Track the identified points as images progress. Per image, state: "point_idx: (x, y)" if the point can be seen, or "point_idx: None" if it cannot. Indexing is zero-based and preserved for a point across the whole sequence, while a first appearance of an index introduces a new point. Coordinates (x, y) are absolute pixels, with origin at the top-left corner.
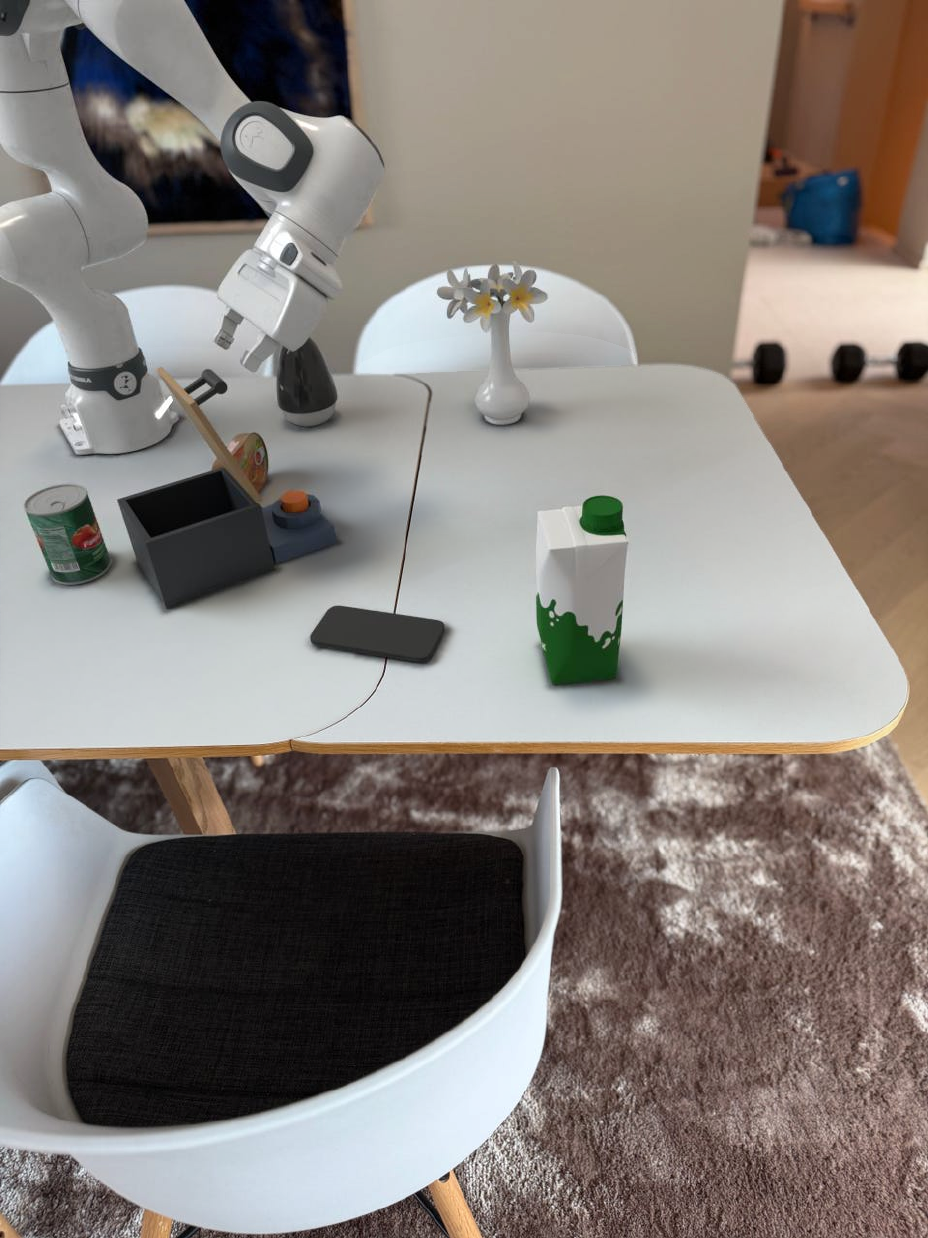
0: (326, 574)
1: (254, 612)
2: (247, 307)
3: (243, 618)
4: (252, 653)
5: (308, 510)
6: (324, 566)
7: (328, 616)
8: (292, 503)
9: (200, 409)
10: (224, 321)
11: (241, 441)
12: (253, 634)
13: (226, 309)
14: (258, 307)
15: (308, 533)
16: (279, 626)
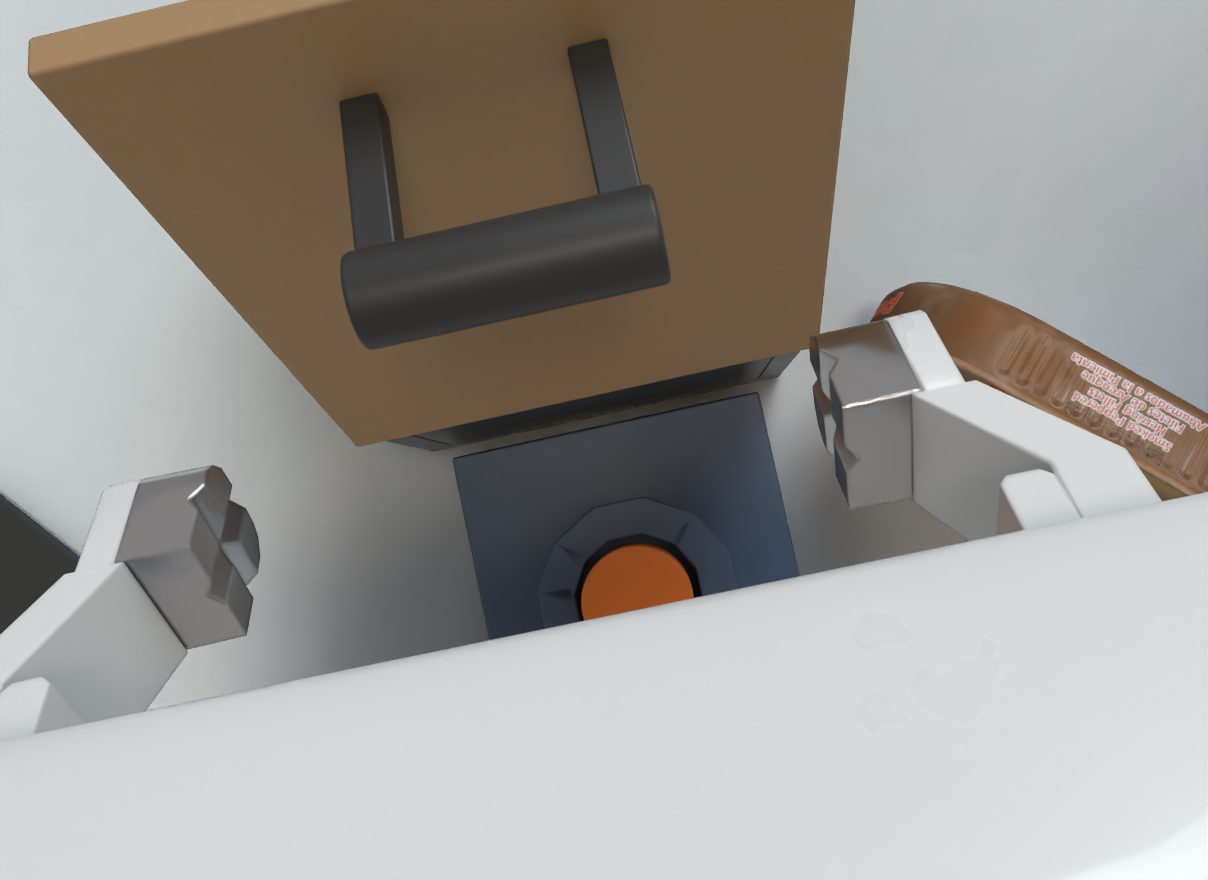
0: (331, 613)
1: (220, 343)
2: (445, 737)
3: (203, 305)
4: (17, 305)
5: None
6: (383, 618)
7: (45, 560)
8: (584, 584)
9: (70, 121)
10: (990, 449)
11: (1162, 461)
12: (107, 323)
13: (1110, 505)
14: (158, 872)
15: (493, 605)
16: (112, 406)
